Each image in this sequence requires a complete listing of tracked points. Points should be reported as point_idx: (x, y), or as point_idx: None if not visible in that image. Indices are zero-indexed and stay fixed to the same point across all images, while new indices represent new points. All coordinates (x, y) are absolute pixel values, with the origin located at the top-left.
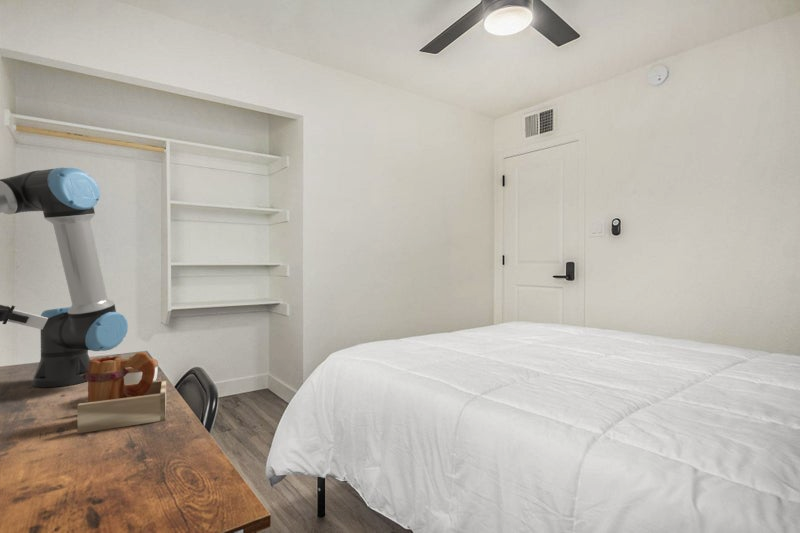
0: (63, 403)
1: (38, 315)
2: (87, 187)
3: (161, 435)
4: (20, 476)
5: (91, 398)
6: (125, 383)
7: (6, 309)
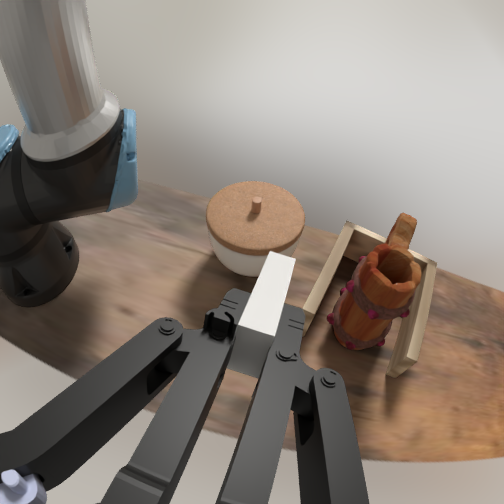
0: None
1: (263, 267)
2: None
3: (466, 311)
4: (485, 447)
5: (379, 332)
6: (290, 255)
7: (285, 365)
